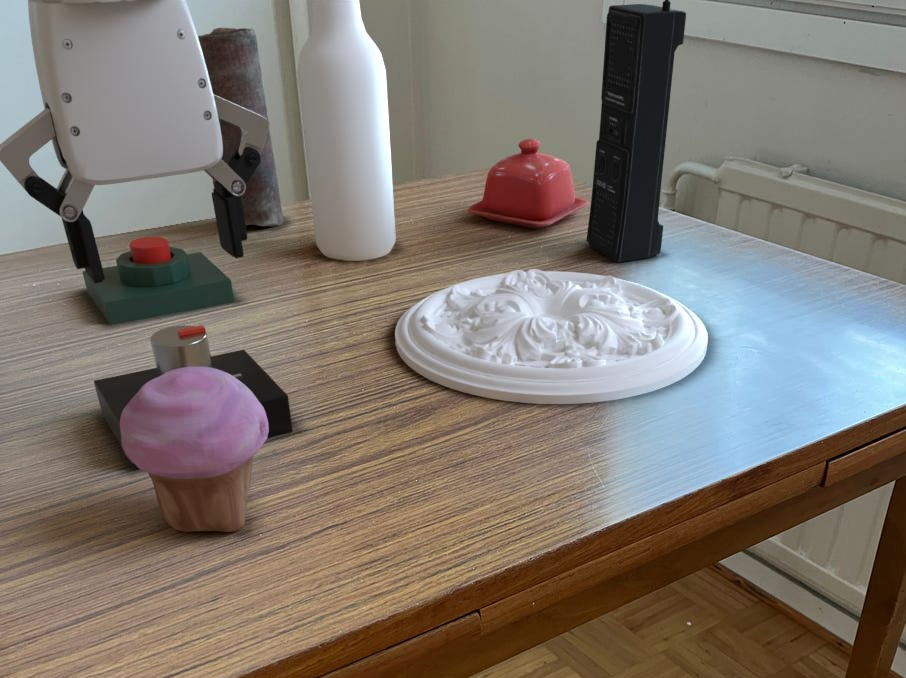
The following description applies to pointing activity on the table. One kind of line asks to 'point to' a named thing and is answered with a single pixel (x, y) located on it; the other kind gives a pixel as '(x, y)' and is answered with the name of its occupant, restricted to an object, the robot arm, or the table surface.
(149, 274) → the box
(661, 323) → the ceiling medallion
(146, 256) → the button
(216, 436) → the cupcake
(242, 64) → the candle
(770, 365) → the table surface
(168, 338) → the dial
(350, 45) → the white bottle
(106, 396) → the dial panel
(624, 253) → the portable radio
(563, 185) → the butter dish
